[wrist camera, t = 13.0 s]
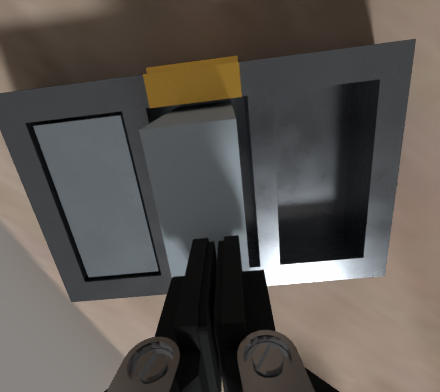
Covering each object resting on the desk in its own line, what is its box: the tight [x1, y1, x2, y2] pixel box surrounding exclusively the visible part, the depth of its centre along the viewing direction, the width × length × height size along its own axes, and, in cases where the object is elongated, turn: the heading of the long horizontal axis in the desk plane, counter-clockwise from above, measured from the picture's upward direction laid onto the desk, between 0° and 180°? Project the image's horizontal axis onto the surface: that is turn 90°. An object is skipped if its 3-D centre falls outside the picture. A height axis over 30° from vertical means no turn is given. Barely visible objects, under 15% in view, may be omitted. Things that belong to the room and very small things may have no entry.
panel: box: [139, 101, 250, 278], centre depth 14 cm, size 3×8×8 cm, turn 7°
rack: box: [0, 39, 416, 302], centre depth 17 cm, size 20×13×4 cm, turn 97°
